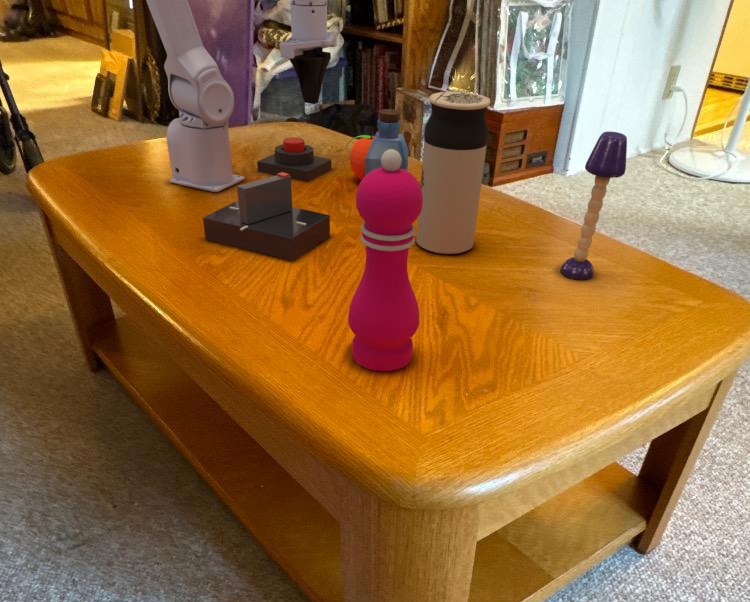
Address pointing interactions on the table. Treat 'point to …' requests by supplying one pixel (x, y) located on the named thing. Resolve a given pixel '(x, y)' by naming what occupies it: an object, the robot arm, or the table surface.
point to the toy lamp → (597, 197)
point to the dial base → (269, 231)
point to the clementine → (360, 155)
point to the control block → (295, 164)
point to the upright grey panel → (265, 198)
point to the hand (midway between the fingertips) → (311, 102)
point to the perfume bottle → (387, 141)
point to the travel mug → (452, 171)
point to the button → (294, 144)
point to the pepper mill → (386, 267)
